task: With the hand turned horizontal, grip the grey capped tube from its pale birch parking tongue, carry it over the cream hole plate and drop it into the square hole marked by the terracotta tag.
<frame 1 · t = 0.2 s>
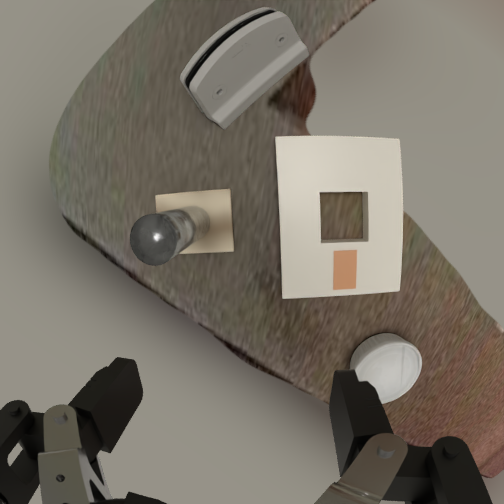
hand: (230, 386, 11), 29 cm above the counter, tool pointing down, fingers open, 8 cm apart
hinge: (247, 72, 35), on the counter
ramekin: (377, 357, 42), on the counter
hole plate: (340, 215, 37), on the counter
grey capped tube: (193, 222, 38), point 1 cm above the counter, touching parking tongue
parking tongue: (194, 222, 39), on the counter
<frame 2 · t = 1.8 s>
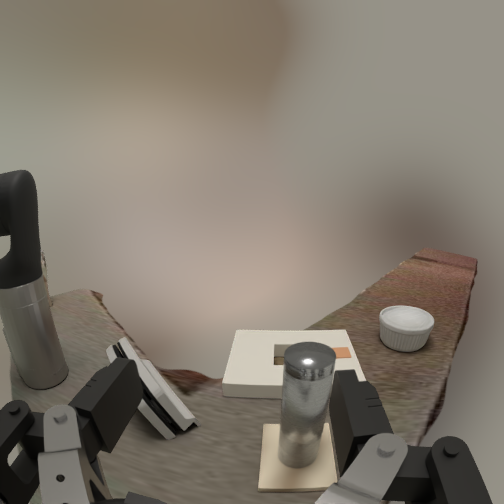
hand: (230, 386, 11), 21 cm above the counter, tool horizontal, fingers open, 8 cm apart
beer glass: (43, 306, 65), on the counter
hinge: (150, 403, 37), on the counter
ramekin: (402, 341, 51), on the counter
hole plate: (292, 366, 45), on the counter
grey capped tube: (297, 453, 27), point 1 cm above the counter, touching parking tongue
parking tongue: (297, 457, 27), on the counter
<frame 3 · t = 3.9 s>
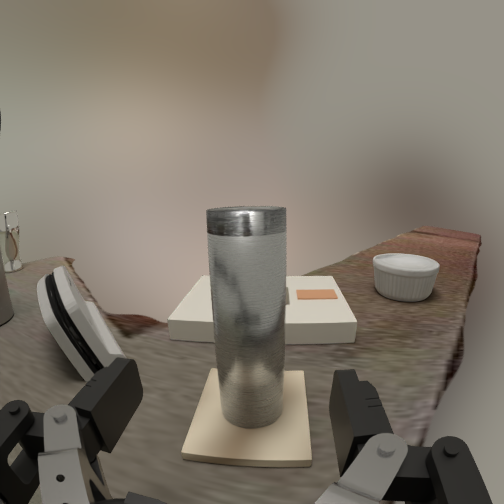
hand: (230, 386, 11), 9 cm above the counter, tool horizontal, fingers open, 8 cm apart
beer glass: (13, 270, 58), on the counter
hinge: (83, 345, 29), on the counter
ramekin: (402, 293, 43), on the counter
hole plate: (264, 313, 38), on the counter
grey capped tube: (252, 408, 19), point 1 cm above the counter, touching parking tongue
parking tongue: (252, 415, 20), on the counter
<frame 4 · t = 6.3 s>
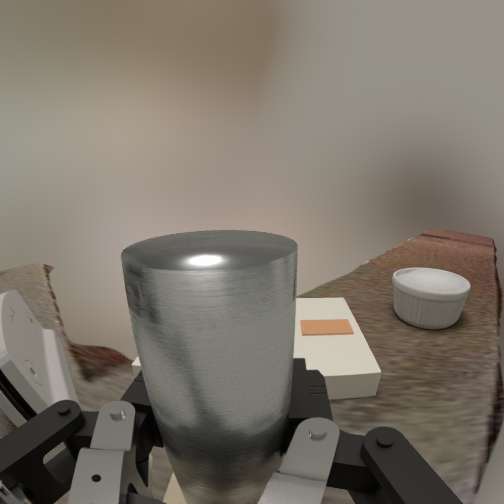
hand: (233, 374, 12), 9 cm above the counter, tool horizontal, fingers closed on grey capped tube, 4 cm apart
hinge: (38, 387, 20), on the counter
ramekin: (425, 316, 34), on the counter
hole plate: (259, 349, 29), on the counter
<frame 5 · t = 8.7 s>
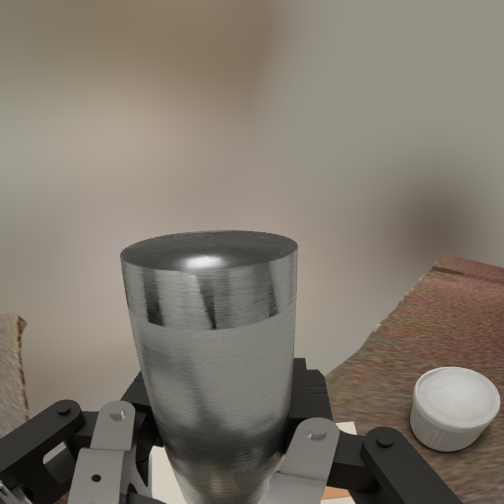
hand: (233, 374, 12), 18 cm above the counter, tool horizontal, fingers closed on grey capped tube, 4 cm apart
ramekin: (444, 427, 24), on the counter
hole plate: (250, 499, 19), on the counter
when the fingers open (11 cm above the counter, at t = 11.2 s): grey capped tube drops 3 cm, resting in hole plate.
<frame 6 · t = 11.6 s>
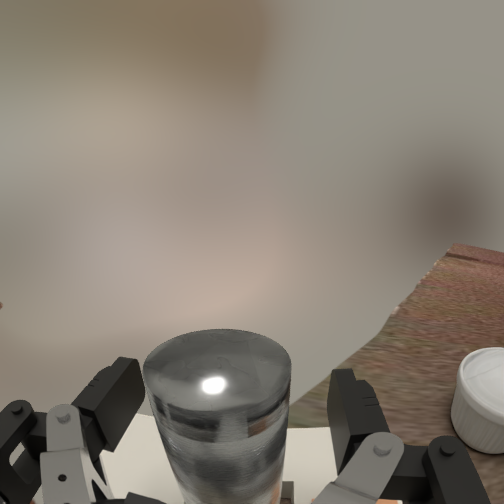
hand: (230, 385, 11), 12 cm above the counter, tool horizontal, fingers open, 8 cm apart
ramekin: (489, 423, 17), on the counter
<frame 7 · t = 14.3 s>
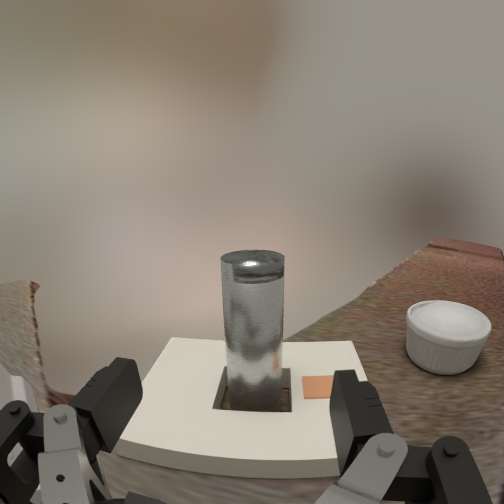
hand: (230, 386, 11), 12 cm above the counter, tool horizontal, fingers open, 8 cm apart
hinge: (12, 445, 15), on the counter
ramekin: (439, 356, 29), on the counter
hole plate: (255, 408, 24), on the counter
grey capped tube: (255, 409, 24), resting in hole plate
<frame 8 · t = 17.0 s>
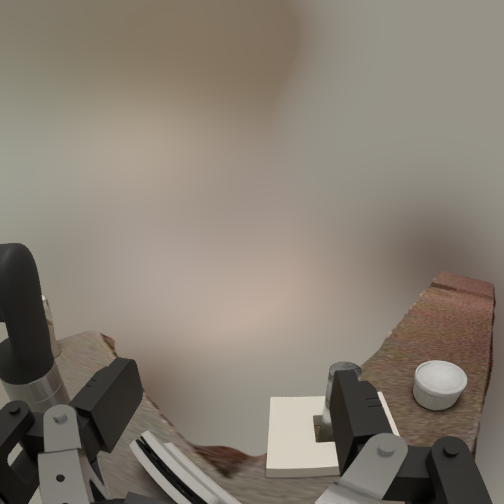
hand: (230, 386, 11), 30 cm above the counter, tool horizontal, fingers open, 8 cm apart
beer glass: (50, 354, 59), on the counter
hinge: (187, 491, 29), on the counter
ramekin: (433, 397, 44), on the counter
hole plate: (331, 437, 39), on the counter
grey capped tube: (331, 437, 39), resting in hole plate
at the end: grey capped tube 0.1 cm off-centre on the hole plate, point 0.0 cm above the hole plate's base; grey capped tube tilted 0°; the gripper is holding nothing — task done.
